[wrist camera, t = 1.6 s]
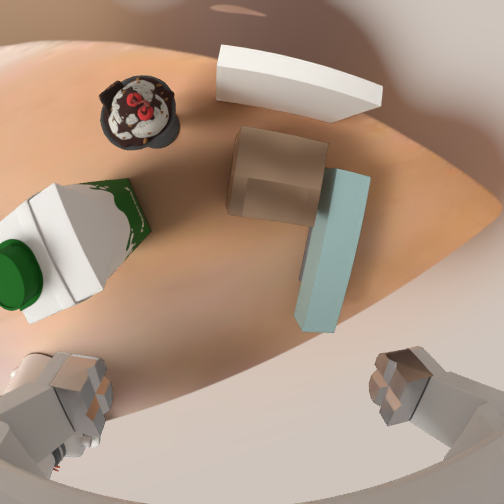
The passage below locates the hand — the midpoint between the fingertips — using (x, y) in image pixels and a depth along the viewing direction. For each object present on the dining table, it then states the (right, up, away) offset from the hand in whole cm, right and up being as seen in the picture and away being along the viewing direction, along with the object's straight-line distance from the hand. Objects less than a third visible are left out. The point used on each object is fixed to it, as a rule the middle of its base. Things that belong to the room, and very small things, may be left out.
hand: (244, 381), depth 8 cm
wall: (+3, +21, +24) cm, 32 cm away
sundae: (-10, +18, +23) cm, 31 cm away
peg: (+9, +4, +27) cm, 28 cm away
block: (+2, +12, +26) cm, 29 cm away
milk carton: (-16, +8, +25) cm, 31 cm away
